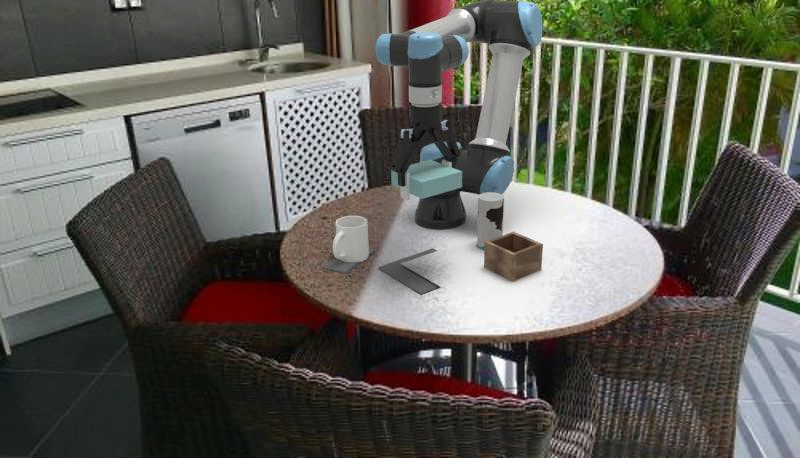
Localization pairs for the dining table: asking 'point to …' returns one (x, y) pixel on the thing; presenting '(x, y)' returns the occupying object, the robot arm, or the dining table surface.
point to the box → (513, 256)
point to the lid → (430, 178)
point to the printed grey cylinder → (489, 217)
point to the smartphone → (343, 264)
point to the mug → (351, 239)
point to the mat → (410, 274)
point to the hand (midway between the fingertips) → (426, 192)
